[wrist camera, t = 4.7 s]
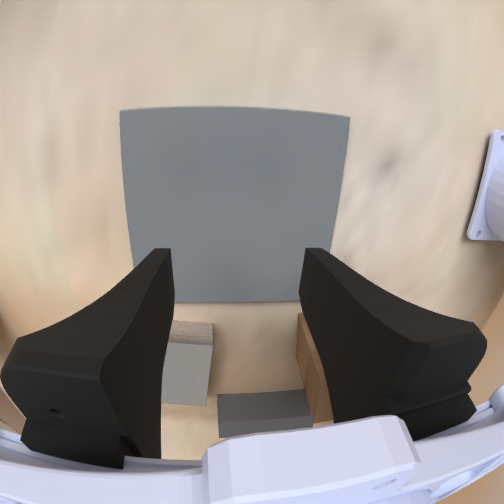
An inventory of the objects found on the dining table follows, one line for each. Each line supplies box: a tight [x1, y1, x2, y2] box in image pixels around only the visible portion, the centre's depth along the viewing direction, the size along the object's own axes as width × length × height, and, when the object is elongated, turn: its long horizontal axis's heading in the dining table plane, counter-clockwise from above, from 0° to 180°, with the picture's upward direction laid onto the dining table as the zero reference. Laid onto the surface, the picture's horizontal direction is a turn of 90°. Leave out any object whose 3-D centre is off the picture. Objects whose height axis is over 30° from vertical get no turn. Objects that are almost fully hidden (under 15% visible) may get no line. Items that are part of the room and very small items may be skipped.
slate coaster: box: [120, 106, 350, 303], centre depth 16 cm, size 11×11×1 cm
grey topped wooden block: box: [161, 320, 213, 406], centre depth 21 cm, size 7×5×2 cm
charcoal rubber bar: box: [217, 389, 314, 438], centre depth 25 cm, size 8×3×3 cm, turn 87°
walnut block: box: [296, 313, 334, 423], centre depth 19 cm, size 4×4×6 cm
